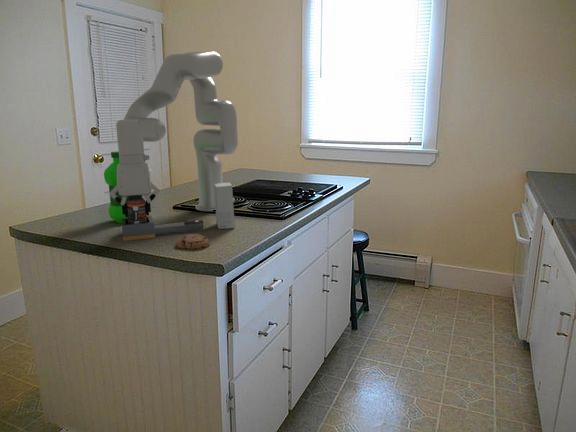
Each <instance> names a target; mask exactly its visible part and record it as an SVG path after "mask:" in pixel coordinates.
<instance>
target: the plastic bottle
mask: <svg viewBox="0 0 576 432" xmlns="http://www.w3.org/2000/svg"><path fill="white" fill-rule="evenodd" d="M110 157H111V159H112V162H111V163H110V164H109V165H108V166H107V167H106V168H105V169H104V172H103V178H104V181H105V183H106V184H107V185H108V190H109V193H110V192H111V191H112V190H113V189H114V187H115V186H116V185H117V165H118V164H120V160H119V150H118V151H111V152H110ZM115 194H116V195H117V196H118V197H120V198H122V196H120V195H119V193H118V191H117V192H116V193H115ZM128 199H129V196H127V198H126V201H125V202H127V200H128ZM109 201H110V204H109V207H108V214H109V217H110V218H111V219H112V220H113V221H114V222H116V223H119V224H120V223H121V224H122V222H121V218H128V217H125V214H123V213H122V205H121V204H120V203H119V202H117V201H116V200H115V199H114V198H112V197H111V196H110V195H109Z"/></svg>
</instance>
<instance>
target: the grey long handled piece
mask: <svg viewBox="0 0 576 432" xmlns="http://www.w3.org/2000/svg"><path fill="white" fill-rule="evenodd" d="M121 222H122V223H121V230H122V231H121V232H122V239H123V240H122V242H125V241H128V242H129V241H135V240H146V239H155V238H156V236H159V235H160V236H162V235H172V234H180V233H181V234H182V233H192V232H200V231H201V232H202V231H204V220H203V219H195V220H194V219H193V220H185V221H182V222H174V223H173V222H172V223H163V224H155V222H154V219H153V217H152V215H148V216H147V222H146V223H135V224H128V218H121Z"/></svg>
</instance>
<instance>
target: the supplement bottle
mask: <svg viewBox="0 0 576 432" xmlns="http://www.w3.org/2000/svg"><path fill="white" fill-rule="evenodd" d="M126 205H127V216H128V224H135V223H146V222H147V214H146V199H145V198H143V195H133V196H129V199H128V200H127V202H126Z"/></svg>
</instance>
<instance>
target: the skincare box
mask: <svg viewBox="0 0 576 432" xmlns="http://www.w3.org/2000/svg"><path fill="white" fill-rule="evenodd" d="M214 191H215V209H216V211H215V220H216V223H215V224H216V226H217V229H218V230H223V229H229V230H230V229H235V227H236V226H235V210H234V202H233V198H234V195H233V194H234V193H233V184H231V182H222V183H216V184H214Z"/></svg>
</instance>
